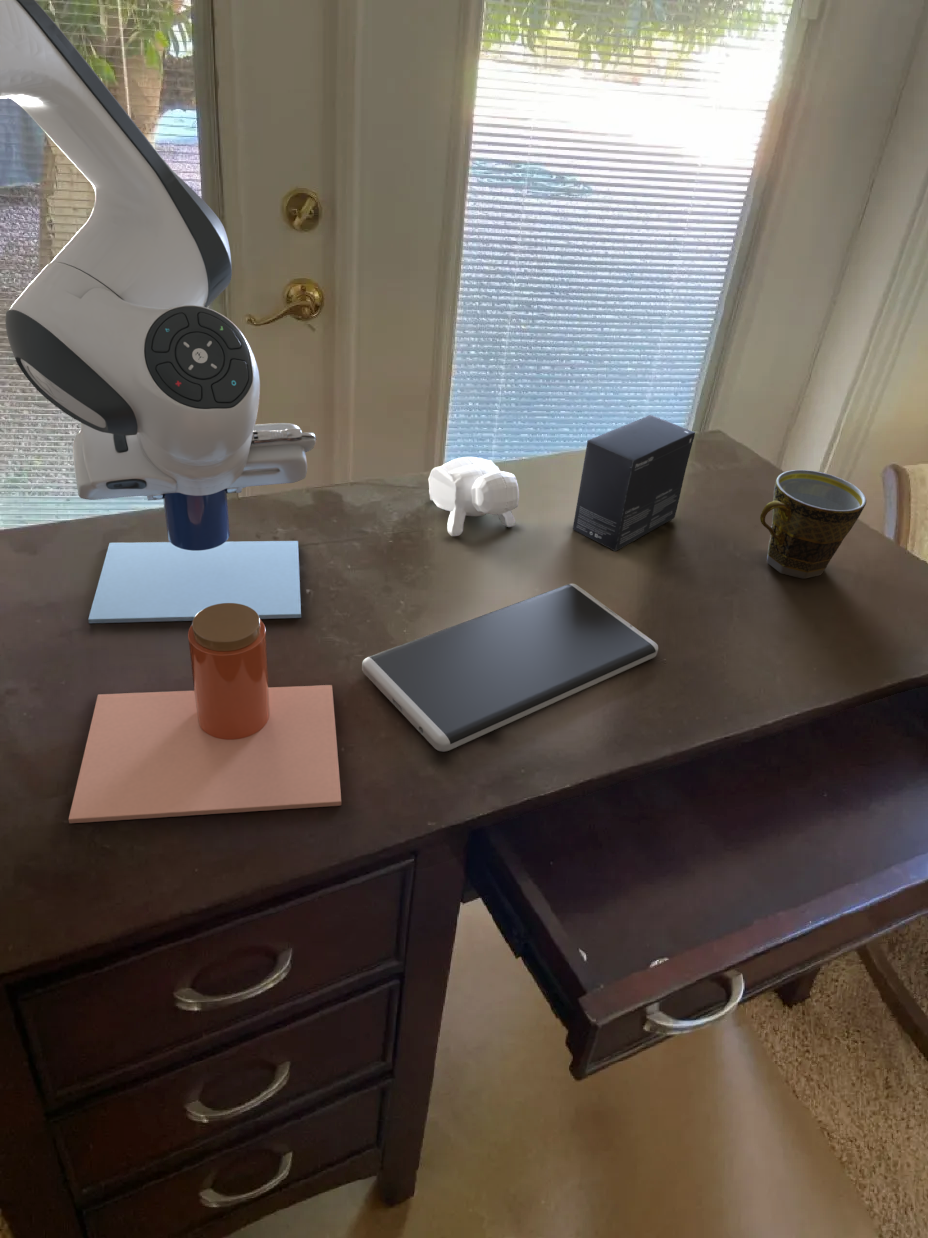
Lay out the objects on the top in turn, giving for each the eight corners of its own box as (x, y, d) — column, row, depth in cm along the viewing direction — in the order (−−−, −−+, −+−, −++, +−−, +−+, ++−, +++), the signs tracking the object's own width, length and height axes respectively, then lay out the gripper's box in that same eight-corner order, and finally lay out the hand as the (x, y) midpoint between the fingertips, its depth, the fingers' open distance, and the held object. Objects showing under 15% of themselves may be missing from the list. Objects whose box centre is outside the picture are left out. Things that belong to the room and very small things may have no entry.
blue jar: (165, 551, 86) (152, 457, 80) (170, 520, 91) (159, 429, 85) (228, 550, 87) (221, 457, 81) (230, 519, 92) (224, 430, 86)
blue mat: (88, 623, 85) (87, 619, 85) (110, 546, 96) (109, 542, 96) (301, 618, 89) (301, 614, 88) (298, 544, 100) (298, 540, 99)
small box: (631, 498, 116) (651, 412, 109) (675, 519, 113) (698, 431, 106) (569, 529, 108) (586, 438, 101) (614, 552, 105) (635, 460, 98)
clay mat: (69, 824, 66) (68, 819, 65) (98, 698, 77) (97, 694, 76) (341, 805, 69) (341, 801, 69) (332, 688, 81) (332, 684, 80)
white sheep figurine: (422, 526, 111) (475, 544, 98) (416, 458, 109) (470, 467, 96) (482, 517, 115) (542, 533, 102) (478, 450, 112) (538, 458, 99)
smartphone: (357, 671, 83) (358, 657, 82) (570, 592, 97) (573, 579, 96) (439, 759, 75) (441, 744, 74) (659, 658, 89) (663, 645, 88)
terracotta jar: (195, 742, 73) (183, 646, 67) (199, 693, 78) (189, 600, 72) (269, 738, 74) (264, 643, 68) (269, 690, 79) (265, 598, 73)
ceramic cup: (796, 536, 112) (822, 464, 106) (854, 578, 105) (886, 504, 99) (715, 552, 107) (737, 478, 101) (771, 598, 100) (798, 520, 94)
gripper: (313, 396, 77) (294, 450, 90) (59, 409, 71) (78, 465, 84) (325, 465, 77) (304, 509, 90) (69, 486, 70) (87, 530, 83)
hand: (193, 488), depth 87 cm, fingers closed on blue jar, 6 cm apart
